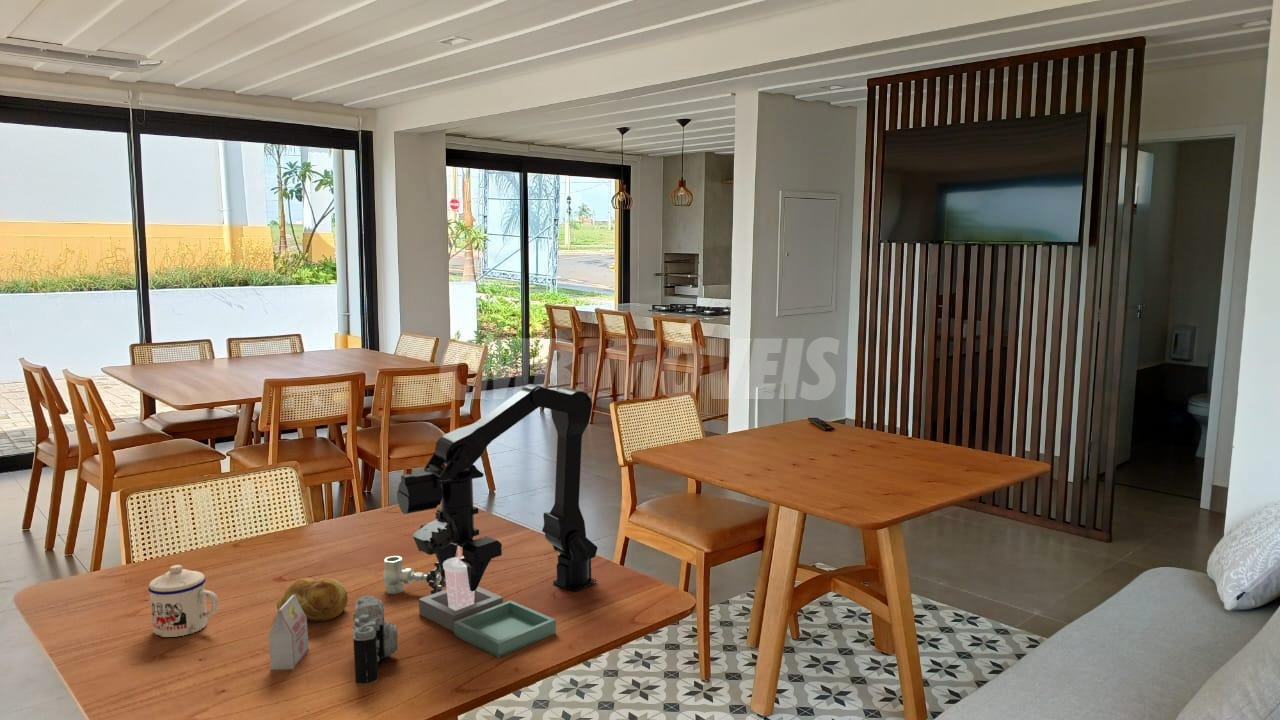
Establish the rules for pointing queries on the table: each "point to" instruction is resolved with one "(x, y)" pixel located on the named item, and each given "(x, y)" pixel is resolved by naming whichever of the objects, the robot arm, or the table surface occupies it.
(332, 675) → the table surface
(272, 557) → the table surface
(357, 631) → the camera
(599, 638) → the table surface
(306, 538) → the table surface
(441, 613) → the holder block
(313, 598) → the bread roll
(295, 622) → the milk carton
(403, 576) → the valve
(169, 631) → the teacup with lid
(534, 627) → the tray
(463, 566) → the beverage cup
